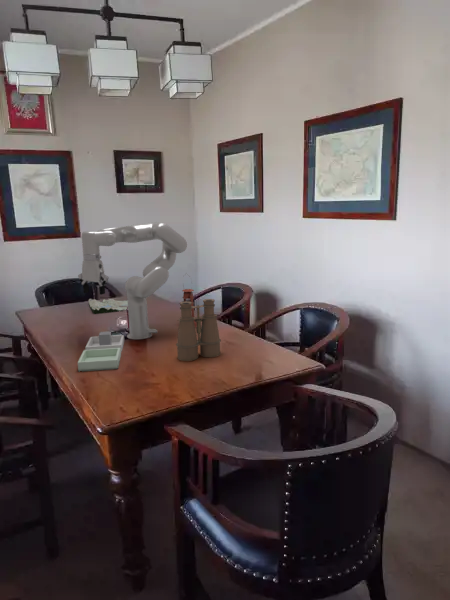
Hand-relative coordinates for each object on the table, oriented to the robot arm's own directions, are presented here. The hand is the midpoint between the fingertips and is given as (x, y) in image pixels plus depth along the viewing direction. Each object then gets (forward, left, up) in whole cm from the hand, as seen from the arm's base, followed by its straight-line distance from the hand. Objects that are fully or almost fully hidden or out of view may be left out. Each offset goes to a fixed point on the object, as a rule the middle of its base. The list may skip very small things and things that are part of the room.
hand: (94, 293), depth 211 cm
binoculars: (-47, +25, -26) cm, 59 cm away
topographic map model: (-2, -83, -27) cm, 87 cm away
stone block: (-4, +7, -25) cm, 26 cm away
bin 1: (-4, +7, -26) cm, 27 cm away
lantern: (-46, -25, -26) cm, 59 cm away
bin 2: (-4, +27, -26) cm, 37 cm away
